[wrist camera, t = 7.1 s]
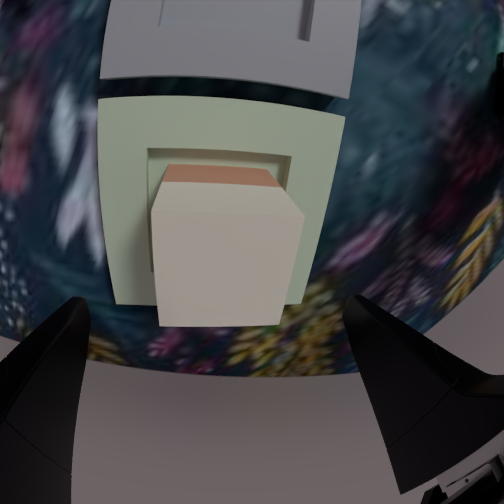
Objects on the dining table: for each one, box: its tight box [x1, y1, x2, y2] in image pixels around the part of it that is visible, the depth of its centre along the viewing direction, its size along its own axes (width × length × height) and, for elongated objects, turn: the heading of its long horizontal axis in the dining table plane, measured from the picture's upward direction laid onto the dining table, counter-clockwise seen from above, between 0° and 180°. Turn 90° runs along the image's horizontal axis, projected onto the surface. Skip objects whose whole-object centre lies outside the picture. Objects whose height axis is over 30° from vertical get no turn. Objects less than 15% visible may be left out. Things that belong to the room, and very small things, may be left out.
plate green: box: [98, 96, 345, 305], centre depth 15 cm, size 12×12×2 cm
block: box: [151, 164, 305, 327], centre depth 13 cm, size 5×5×6 cm
